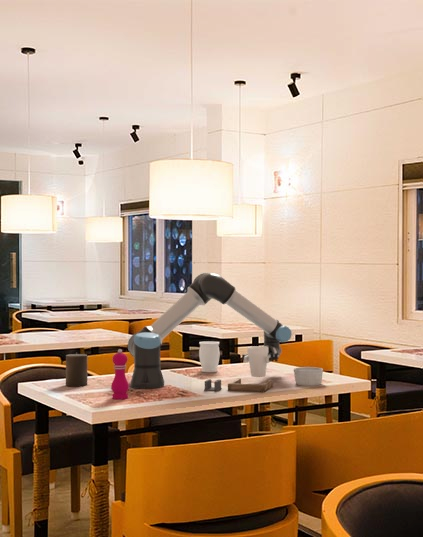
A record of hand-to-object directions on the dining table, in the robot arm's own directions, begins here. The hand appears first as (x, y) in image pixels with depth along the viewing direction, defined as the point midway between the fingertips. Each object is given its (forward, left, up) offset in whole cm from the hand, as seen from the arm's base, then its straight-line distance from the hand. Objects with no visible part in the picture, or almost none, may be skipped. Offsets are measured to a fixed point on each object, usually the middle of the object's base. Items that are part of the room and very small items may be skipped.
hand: (255, 360), depth 337 cm
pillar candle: (-57, +58, -12) cm, 82 cm away
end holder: (-8, -4, -11) cm, 14 cm away
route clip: (-22, +5, -11) cm, 25 cm away
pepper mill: (-63, +16, -12) cm, 66 cm away
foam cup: (+4, +2, -8) cm, 9 cm away
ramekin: (+20, -13, -12) cm, 27 cm away
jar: (+16, +49, -12) cm, 53 cm away
